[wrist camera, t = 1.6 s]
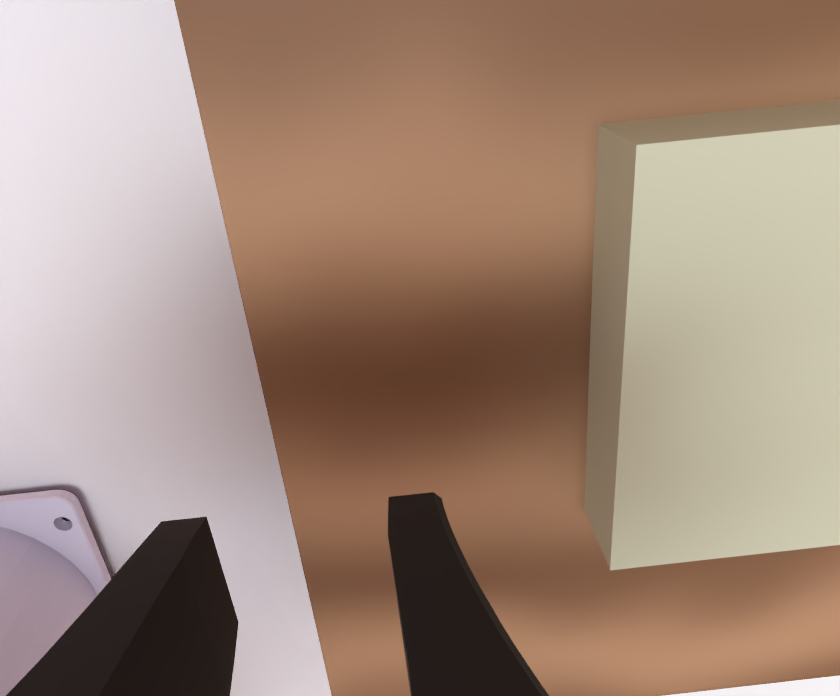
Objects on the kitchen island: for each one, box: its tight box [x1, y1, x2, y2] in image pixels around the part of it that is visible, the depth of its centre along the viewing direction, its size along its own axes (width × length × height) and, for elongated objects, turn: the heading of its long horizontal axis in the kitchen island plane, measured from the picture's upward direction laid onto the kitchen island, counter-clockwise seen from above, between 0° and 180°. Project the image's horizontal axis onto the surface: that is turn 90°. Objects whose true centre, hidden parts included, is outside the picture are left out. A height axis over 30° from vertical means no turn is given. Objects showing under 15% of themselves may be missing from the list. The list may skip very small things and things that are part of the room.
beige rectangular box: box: [584, 100, 840, 570], centre depth 13 cm, size 9×6×2 cm, turn 5°
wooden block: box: [174, 0, 840, 696], centre depth 16 cm, size 24×16×4 cm, turn 5°
